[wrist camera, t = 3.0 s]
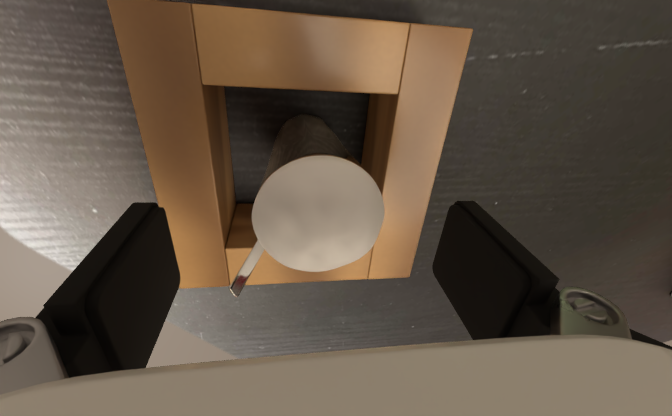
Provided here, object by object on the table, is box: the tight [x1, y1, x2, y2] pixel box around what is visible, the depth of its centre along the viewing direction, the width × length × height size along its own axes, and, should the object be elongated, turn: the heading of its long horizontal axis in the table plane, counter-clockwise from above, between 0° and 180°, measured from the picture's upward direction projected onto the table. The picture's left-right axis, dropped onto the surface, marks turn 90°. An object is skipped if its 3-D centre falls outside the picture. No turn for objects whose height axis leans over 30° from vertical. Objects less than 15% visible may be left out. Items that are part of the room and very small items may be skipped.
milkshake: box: [229, 114, 385, 297], centre depth 13 cm, size 4×5×10 cm
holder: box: [107, 0, 473, 288], centre depth 16 cm, size 12×12×4 cm
